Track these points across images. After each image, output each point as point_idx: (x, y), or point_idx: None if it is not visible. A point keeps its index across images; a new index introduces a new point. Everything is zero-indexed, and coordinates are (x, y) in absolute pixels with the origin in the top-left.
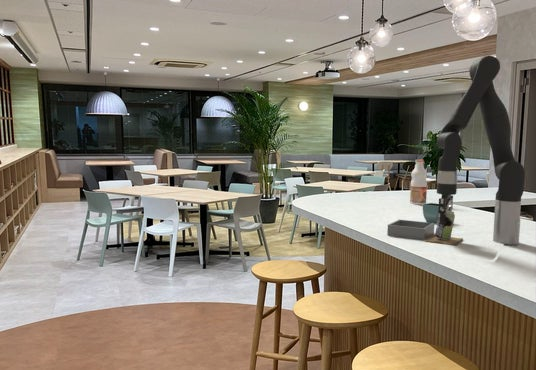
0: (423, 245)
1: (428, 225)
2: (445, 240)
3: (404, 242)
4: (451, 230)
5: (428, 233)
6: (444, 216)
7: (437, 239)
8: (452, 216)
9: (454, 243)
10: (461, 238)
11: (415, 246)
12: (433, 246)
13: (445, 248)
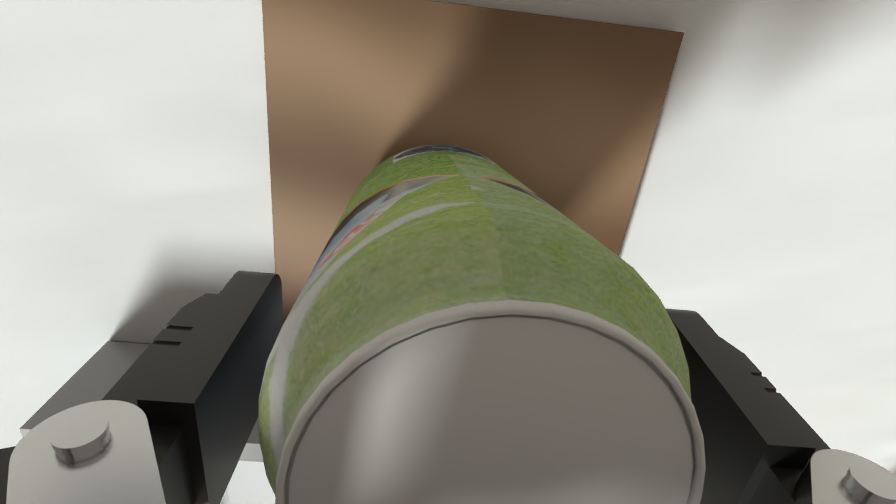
0: (759, 342)
1: (251, 460)
2: None
3: None
4: (481, 162)
5: None
6: (795, 437)
7: None
8: (633, 271)
9: (658, 64)
10: (274, 1)
11: (817, 388)
12: (784, 261)
13: (862, 140)
